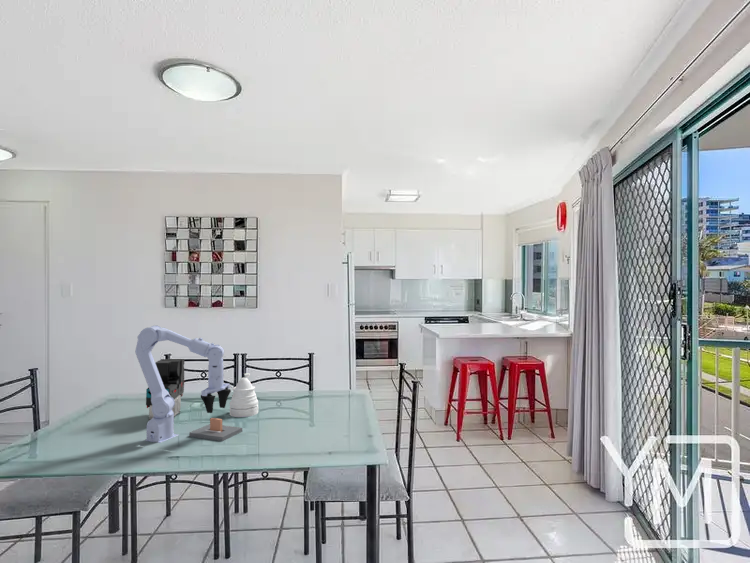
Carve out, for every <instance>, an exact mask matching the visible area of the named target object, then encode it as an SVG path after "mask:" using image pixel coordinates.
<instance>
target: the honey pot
mask: <svg viewBox="0 0 750 563" xmlns="http://www.w3.org/2000/svg"><path fill="white" fill-rule="evenodd" d="M243 374H244V377H241V378H240V379H239V380H238V382H237V383H236V386H234V387H233V388H232V391H233V393H232V395H231V400H230V401H229V416H231V417H235V418H246V417H252V416H253V417H254V416H256V415H257V414H258V413H259V400H258V397H257V394H256V391H255V389H256V386H254V385H252V383H251V381H250V380H249V379H248V378H250V376H251V373H250V372H249V373H243Z"/></svg>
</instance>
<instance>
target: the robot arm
mask: <svg viewBox="0 0 750 563" xmlns="http://www.w3.org/2000/svg"><path fill="white" fill-rule="evenodd" d="M164 341H170V342H172V343H175V344H179V345H182V346H185V347H187V348H188V350H189V352H191V353H193V354H196V355H198V356H201V357H204V358H207V359H208V367H207V368H208V369H207V371H208V376H207V377H208V381H207V382H208V384H207V386H208V387H207V388H205V389H203V390H201V392H200V399H201V400H202V402H203V404H204V406H205V410H206V413H208V414H212V413H213V412H214V402H215V398H216V395H213V394H214V393H217V396H218V406H219V408H220V409H225V408H226V405H227V401H228V397H229V396H230V394H231V389H230V388H231V387H230V386H231V384H230V383H227V382H226V383H224V374H225V373H224V355H225V350H224V347H222V346H221V345H220V344H215V343H214V342H208V341H206V340H204V338H203V337H199V338H198V337H195V338H193V339H192V338H190V337H187V336H185V335H182V334H180V333H178V332H175V331H173V330H171V329H169V328H166V327H162V326H159V325H151V326H149V327H145V328H143V329H142V330H141V331H140V332H139V334H138V335H137V342H136V347H135V355H136V358H137V360H138V364H139V366H140V368H141V372H142V374H143V376H144V379H145V381H146V384H147V388H148V387H149V390H150V392H151V403H152V413H153V414H154V415H153V418H152V419H151V420H149V419H148V421H147V424H146V439H145V440H144V442H153V443H159V444H161V443H163V442H166V441H168V440H171V439H174V438H175V437H178V436H179V434H177V433H174V432H175V431H174V430H175V429H174V428H175V427H174V426H175V423H174V422H175V421H174V420H175V419H174V418H175V416H174V413H173V411H172V409H173V407H174V405H175V401H174V399H173V398H172V397H171V396H170V395H169V392H168V391H167V390H166V389H165V387H164V385H163V382H162V379H161V377H160V374H159V372H158V369H157V366H156V364H155V362H156V361H155V359H154V356H153V353H152V351H153V349H154V347H155V345H156V344H157V343H158V342H164Z"/></svg>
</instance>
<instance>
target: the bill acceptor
mask: <svg viewBox="0 0 750 563" xmlns="http://www.w3.org/2000/svg"><path fill="white" fill-rule="evenodd" d="M155 364H156V366H157V369H158V372H159V374H160V377H161V379H162V382H163V385H164V387H165V389H166V390H167V391H168V392H169V395H170V396H171V397H172V398H173V399H174V401H175V405H174V407H173V409H172V411H173V413H174V417H176V416H177V415H180V412H181V406H182V405H181V401H182V400H181V399H182V397H183V394H184V392H185V358H160V360H157V361H155ZM145 406H146V409H148V410H149V411H148V414H149V416H148V421H149V420H151V419H152V418H153V415H154V414H153V413H152V403H151V392H150V390H149V387H148V386H147V388H146V392H145Z"/></svg>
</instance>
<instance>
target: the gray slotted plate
mask: <svg viewBox="0 0 750 563" xmlns="http://www.w3.org/2000/svg"><path fill="white" fill-rule="evenodd" d="M242 432H243V427H239V426H238V427H237V426H231V425H223V424H222V432H221V431H213V430H210V423H208V424H206V425H204V426H202V427H198V428H197V429H195V430H192V431H189V433H188V434H189V437H191V438H197V439H199V438H200V439H205V440H212V441H218V442H219V441H220V442H224V441H226V440H228V439H230V438H232V437H234V436H237V435H238V434H240V433H242Z"/></svg>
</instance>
